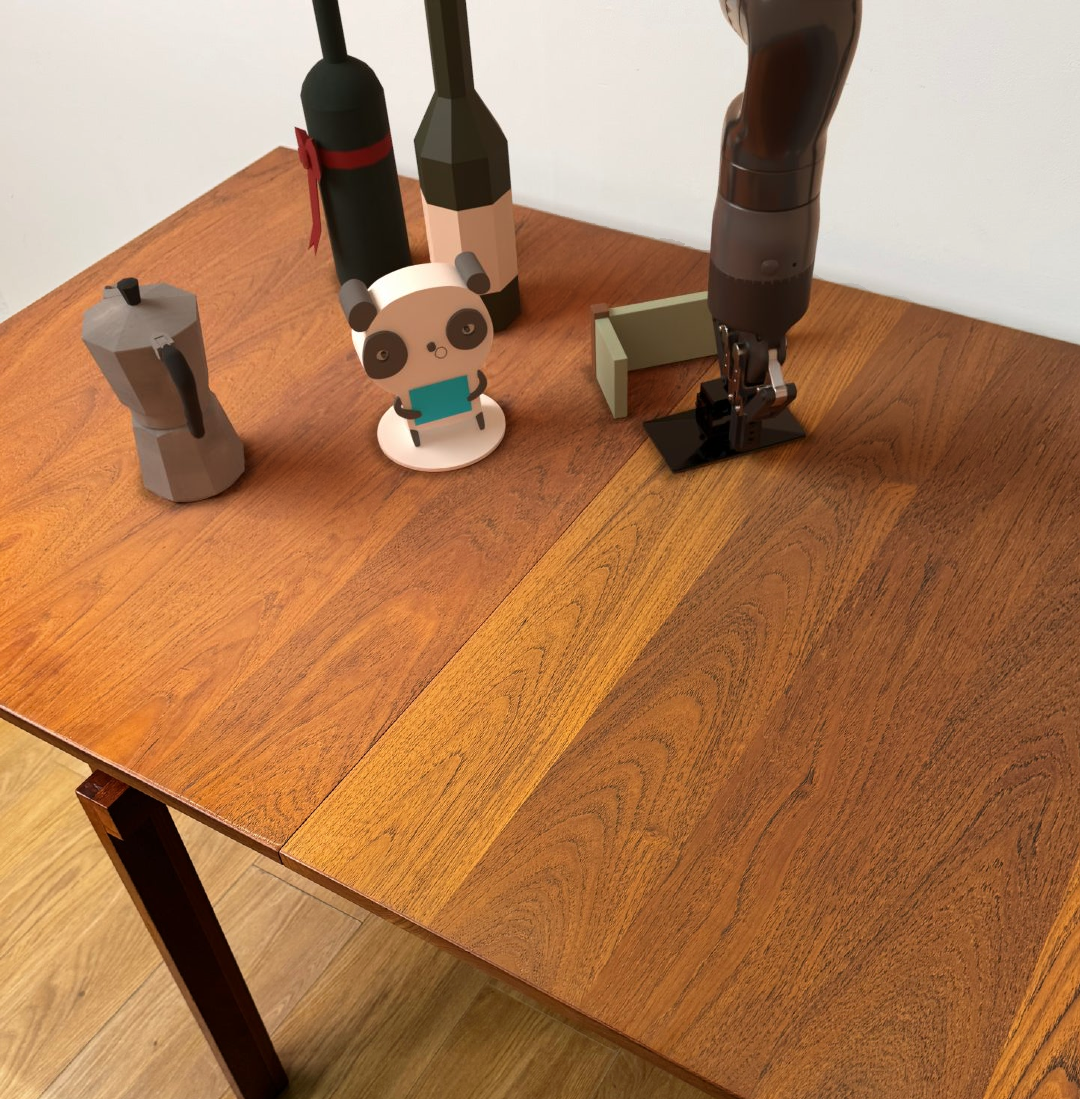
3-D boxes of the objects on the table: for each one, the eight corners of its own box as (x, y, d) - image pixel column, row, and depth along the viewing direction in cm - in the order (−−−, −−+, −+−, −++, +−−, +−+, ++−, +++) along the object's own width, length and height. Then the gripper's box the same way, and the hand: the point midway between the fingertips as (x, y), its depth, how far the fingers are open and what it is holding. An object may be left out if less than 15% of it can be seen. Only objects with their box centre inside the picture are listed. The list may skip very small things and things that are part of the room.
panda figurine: (388, 487, 98) (356, 331, 86) (357, 410, 105) (323, 256, 93) (522, 451, 100) (509, 294, 88) (483, 378, 107) (466, 223, 95)
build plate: (672, 475, 97) (673, 430, 94) (640, 424, 102) (640, 380, 98) (807, 437, 99) (813, 391, 95) (770, 389, 103) (774, 343, 100)
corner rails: (775, 334, 108) (783, 269, 103) (805, 382, 104) (815, 316, 99) (591, 369, 107) (589, 304, 102) (613, 419, 102) (612, 354, 97)
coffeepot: (118, 451, 103) (38, 264, 89) (215, 410, 106) (152, 223, 92) (184, 547, 95) (107, 358, 81) (287, 501, 98) (231, 310, 84)
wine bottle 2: (445, 287, 117) (400, -53, 93) (527, 289, 116) (502, -55, 92) (429, 335, 112) (377, -12, 88) (514, 338, 110) (484, -13, 87)
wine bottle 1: (304, 276, 119) (225, -57, 96) (390, 243, 122) (334, -88, 99) (338, 311, 115) (264, -29, 92) (427, 275, 118) (377, -62, 95)
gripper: (848, 286, 80) (816, 485, 93) (779, 196, 88) (758, 391, 101) (744, 306, 79) (727, 503, 92) (684, 213, 87) (676, 407, 101)
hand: (743, 444), depth 97 cm, fingers closed
